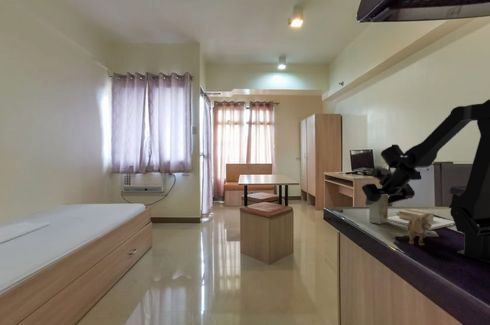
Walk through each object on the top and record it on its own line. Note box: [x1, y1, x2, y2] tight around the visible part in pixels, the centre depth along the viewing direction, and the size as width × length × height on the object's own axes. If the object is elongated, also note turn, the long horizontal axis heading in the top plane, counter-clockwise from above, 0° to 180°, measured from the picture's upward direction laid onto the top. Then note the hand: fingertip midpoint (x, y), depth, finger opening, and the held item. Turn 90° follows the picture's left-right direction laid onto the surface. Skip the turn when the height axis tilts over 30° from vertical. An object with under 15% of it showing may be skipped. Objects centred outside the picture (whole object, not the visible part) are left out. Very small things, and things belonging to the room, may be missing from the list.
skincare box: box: [368, 195, 389, 225], centre depth 100 cm, size 6×4×12 cm
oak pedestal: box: [398, 208, 434, 222], centre depth 101 cm, size 8×8×3 cm
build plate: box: [388, 215, 455, 231], centre depth 100 cm, size 18×16×1 cm
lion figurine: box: [407, 215, 431, 246], centre depth 79 cm, size 15×5×9 cm, turn 151°
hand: (376, 203), depth 102 cm, fingers open, 9 cm apart
